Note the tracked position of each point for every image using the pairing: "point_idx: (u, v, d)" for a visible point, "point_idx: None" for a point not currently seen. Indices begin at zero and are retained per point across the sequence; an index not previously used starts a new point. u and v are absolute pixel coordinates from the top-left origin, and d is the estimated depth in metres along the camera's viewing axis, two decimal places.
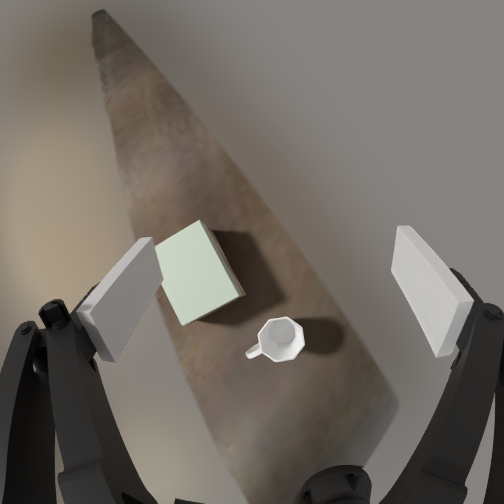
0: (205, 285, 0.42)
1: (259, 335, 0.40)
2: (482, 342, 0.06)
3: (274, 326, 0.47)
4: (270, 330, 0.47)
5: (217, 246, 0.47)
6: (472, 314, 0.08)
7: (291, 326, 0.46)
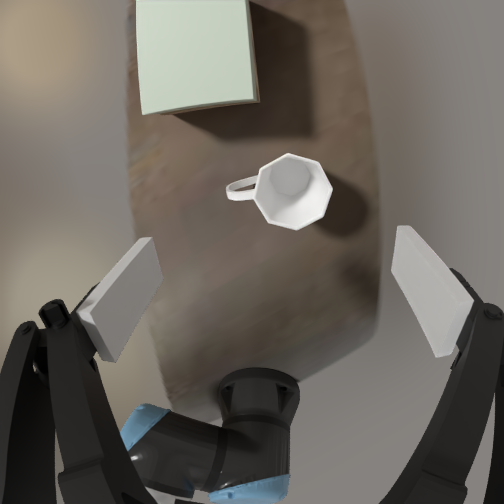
0: (206, 63, 0.20)
1: (261, 171, 0.24)
2: (482, 342, 0.06)
3: (283, 164, 0.29)
4: (275, 167, 0.30)
5: None
6: (472, 314, 0.08)
7: (307, 175, 0.30)
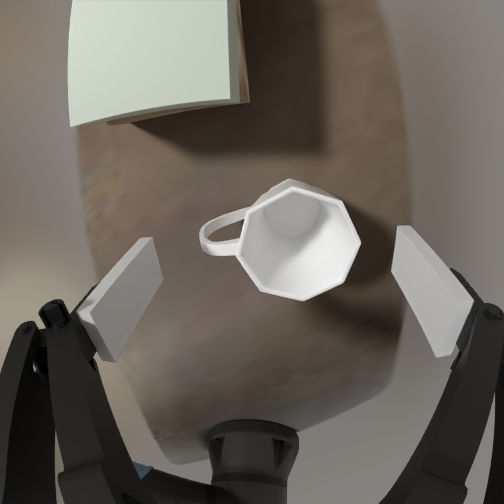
0: (158, 44, 0.11)
1: (249, 215, 0.15)
2: (482, 342, 0.06)
3: None
4: None
5: None
6: (472, 314, 0.08)
7: (317, 209, 0.21)
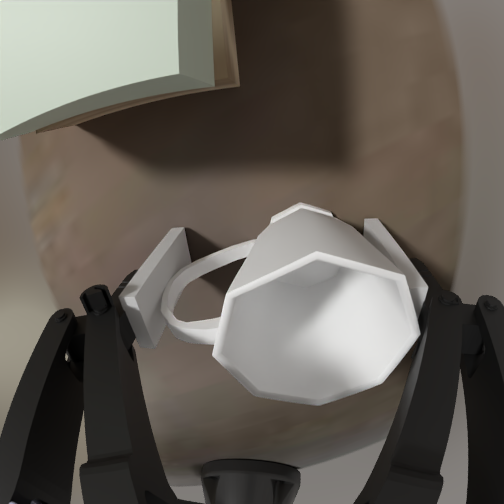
0: (66, 2, 0.04)
1: (232, 299, 0.08)
2: (440, 330, 0.07)
3: None
4: None
5: None
6: (428, 301, 0.09)
7: None
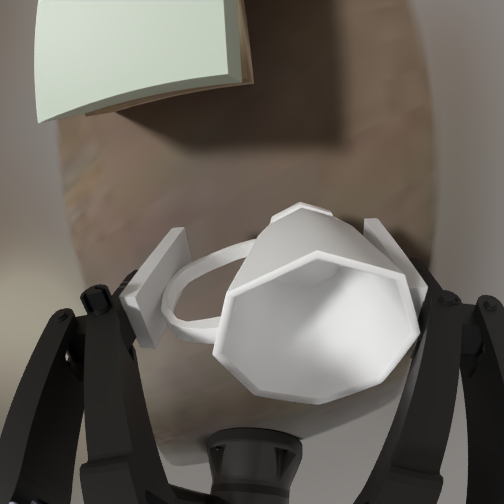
0: (135, 14, 0.08)
1: (233, 298, 0.08)
2: (439, 330, 0.07)
3: None
4: None
5: None
6: (428, 301, 0.09)
7: None
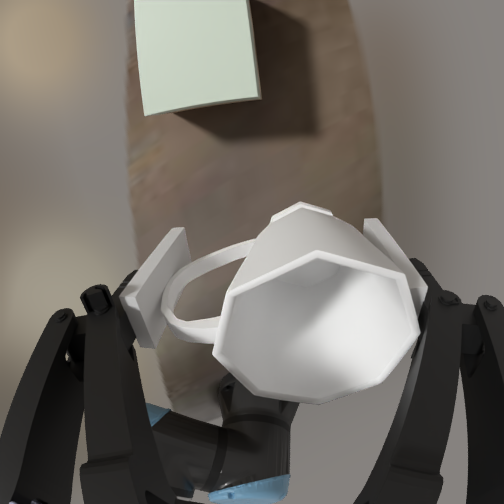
0: (208, 62, 0.19)
1: (233, 297, 0.08)
2: (439, 330, 0.07)
3: None
4: None
5: None
6: (428, 301, 0.09)
7: None
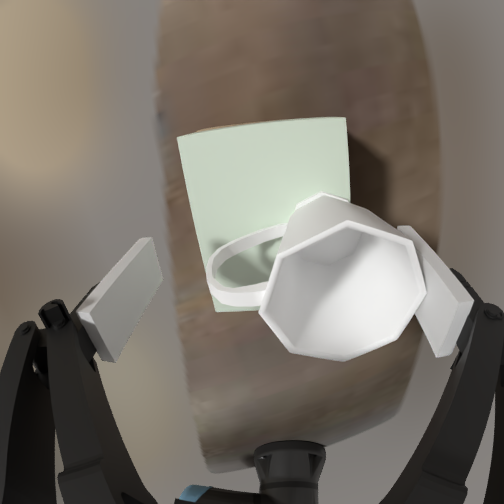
0: None
1: (281, 260, 0.10)
2: (482, 342, 0.06)
3: None
4: None
5: None
6: (472, 314, 0.08)
7: (357, 231, 0.16)
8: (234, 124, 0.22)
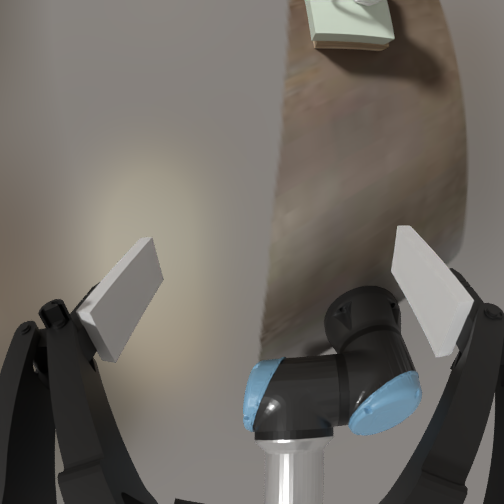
0: (362, 10, 0.22)
1: None
2: (482, 342, 0.06)
3: None
4: None
5: None
6: (472, 314, 0.08)
7: None
8: None
